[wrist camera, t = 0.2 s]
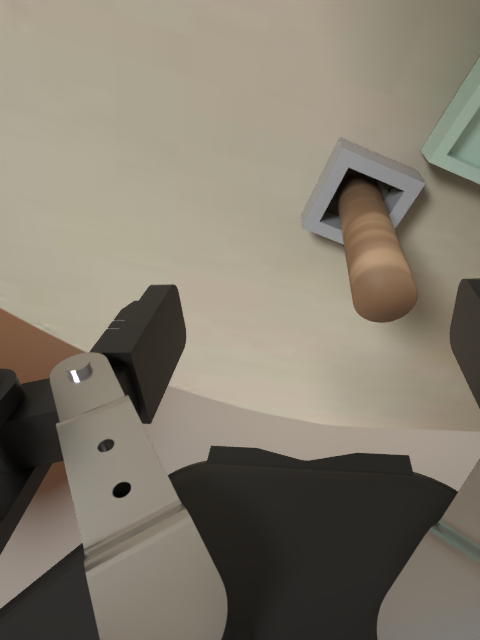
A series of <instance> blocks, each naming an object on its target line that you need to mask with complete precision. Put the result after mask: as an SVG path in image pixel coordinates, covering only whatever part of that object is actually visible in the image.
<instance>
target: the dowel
mask: <svg viewBox="0 0 480 640" xmlns="http://www.w3.org/2000/svg"><path fill="white" fill-rule="evenodd" d="M336 200H337V206H338V212H339V219H340V225H341V231H342V237H343V243H344V250H345V256H346V262H347V268H348V274H349V280H350V287H351V293H352V299H353V305H354V308H355V310H356V311H357V313H358V314H359V315H360V316H362V317H363V318H365V319H367V320H369V321H373V322H390V321H394V320H397V319H399V318H401V317H403V316H404V315H406V314H407V313H408V312H409V311H410V310H411V309H412V308H413V307H414V305H415V303H416V301H417V296H418V292H417V288H416V285H415V283H414V280H413V277H412V275H411V272H410V269H409V267H408V264H407V261H406V259H405V256H404V253H403V251H402V248H401V246H400V243H399V240H398V238H397V235H396V232H395V230H394V227H393V224H392V222H391V219H390V216H389V214H388V211H387V208H386V206H385V203H384V201H383V198H382V195H381V193H380V190H379V187H378V185H377V182H376V181H375V179H374V178H372V177H370V176H368V175H365V174H363V173H355V174H352V175H349V176H348V177H346V178H345V179H343V180H342V182H341V183H340V184H339V186H338V188H337V191H336Z"/></svg>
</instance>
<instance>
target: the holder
mask: <svg viewBox="0 0 480 640" xmlns="http://www.w3.org/2000/svg"><path fill="white" fill-rule="evenodd" d="M348 167H349V168H351V169H353V170H356V171H358V172H361V173H363V174H365V175H368V176H370V177H372V178H375V179H377V180H380V181H382V182H384V183H387V184H389V185H391V186H393V188H392V189H391V191H390V192H389V194H388V196H387V197H386V199H385V200H384V203H385V206H386V208H387V211H388V214H389V216H390V219H391V222H392V224H393V227H394V230H395V228H396V227H397V225H398V224H399V222H400V221H401V219H402V218H403V216H404V215H405V214H406V212H407V211H408V209H409V208H410V206H411V205H412V203H413V202H414V200H415V199H416V197H417V196H418V194H419V193H420V191H421V190H422V188H423V187H424V185H425V184H426V183H425V182H424V180H423V178H422V177H421V175H420V173H419V172H418V171H417V170H414V169H412V168H410V167H407V166H405V165H403V164H401V163H398V162H396V161H394V160H391V159H389V158H387V157H384V156H382V155H380V154H377V153H375V152H373V151H370V150H368V149H366V148H363V147H361V146H359V145H357V144H354V143H352V142H350V141H347V140H345V139H343V138H339V140H338V142H337V144H336V146H335V148H334V150H333V152H332V154H331V156H330V158H329V160H328V162H327V164H326V166H325V168H324V170H323V172H322V174H321V176H320V178H319V180H318V182H317V184H316V187H315V189H314V191H313V193H312V195H311V197H310V199H309V201H308V203H307V205H306V207H305V209H304V211H303V213H302V228H303V229H305V230H308V231H310V232H313V233H316V234H318V235H321V236H323V237H326V238H328V239H331V240H333V241H336V242H338V243H341V244H343V245H344V243H343V237H342V231H341V225H340V219H339V216H337V215H335V214H332V213H330V212H327V211H325V210H326V209H327V207H328V205H329V203H330V201H331V199H332V197H333V196H334V194H335V192H336V190H337V188H338V186H339V184H340V182H341V181H342V179H343V177H344V175H345V173H346V171H347V169H348Z"/></svg>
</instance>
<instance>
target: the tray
mask: <svg viewBox="0 0 480 640" xmlns="http://www.w3.org/2000/svg"><path fill="white" fill-rule="evenodd" d="M420 151H421V152H422V154H423V155H424V156H425V158H426V159H427V161H428V162H430V163H432V164H434V165H436V166H439V167H441V168H443V169H446V170H448V171H450V172H452V173H455V174H457V175H459V176H462V177H464V178H466V179H469V180H471V181H473V182H475V183H478V184H480V57H479V58H478V60H477V62H476V63H475V65H474V66H473V68H472V70H471V71H470V73H469V74H468V76H467V77H466V79H465V81H464V82H463V84H462V85H461V87H460V89H459V90H458V92H457V93H456V95H455V96H454V98H453V100H452V101H451V103H450V104H449V106H448V108H447V109H446V111H445V112H444V114H443V115H442V117H441V119H440V120H439V122H438V123H437V125H436V126H435V128H434V130H433V131H432V133H431V134H430V136H429V138H428V139H427V141H426V142H425V144H424V145H423V147H422V149H421V150H420Z"/></svg>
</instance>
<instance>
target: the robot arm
mask: <svg viewBox="0 0 480 640" xmlns="http://www.w3.org/2000/svg"><path fill="white" fill-rule="evenodd" d="M185 343H186V328H185V322H184V317H183V312H182V307H181V302H180V297H179V292H178V289H177V287H176V285H150V286H149V287H148V288H147V290H146V291H145V293H144V294H143V295H142V297H141V298H140V300H139V301H133V302H132V303H130V304H129V305H127V306H126V307H125V308H123V309H122V310H121V311H120V312H119V313H118V315H117V316H116V317H115V319H114V321H112V323H111V324H110V325H109V327H108V329H106V331H105V332H104V333H103V335H102V336H101V337H100V339H99V340H98V341H97V343H96V344H95V345H94V347H93V348H92V349H91V351H90V352H89V353H82V354H78V355H75V356H72V357H69V358H68V359H66V360H64V361H62V362H61V363H59V364H58V365H57V366H56V367H55V368H54V369H53V370H52V372H51V374H50V377H49V379H43V380H39V381H33V382H28V383H24V384H20V382H19V380H18V378H17V375H16V374H15V372H14V371H12V370H10V369H0V554H1V553H2V551H3V549H4V547H5V546H6V544H7V542H8V540H9V539H10V537H11V535H12V533H13V531H14V530H15V528H16V526H17V525H18V523H19V521H20V519H21V518H22V516H23V514H24V512H25V510H26V509H27V507H28V505H29V504H30V502H31V500H32V498H33V497H34V495H35V493H36V491H37V490H38V488H39V486H40V484H41V482H42V481H43V479H44V477H45V475H46V474H47V472H48V470H49V468H50V467H51V465H52V463H55V462H60V461H64V463H65V468H66V472H67V477H68V481H69V485H70V489H71V494H72V499H73V503H74V507H75V512H76V516H77V521H78V525H79V529H80V534H81V538H82V542H83V543H82V544H80V545H79V546H78V547H77V548H75V549H74V550H73V551H72V552H70V553H69V554H68V555H67V556H65V557H64V558H63V559H62V560H60V561H59V562H58V563H57V564H56V565H54V566H53V567H52V568H51V569H49V570H48V571H47V572H46V573H44V574H43V575H42V576H41V577H39V578H38V579H37V580H36V581H34V582H33V583H32V584H31V585H29V587H27V588H26V589H25V590H23V591H22V592H21V593H20V594H18V595H17V596H16V597H15V598H13V599H12V600H11V601H10V602H8V603H7V604H6V605H5V606H3V607H2V608H1V609H0V640H480V459H479V461H478V462H477V464H476V465H475V467H474V468H473V470H472V472H471V473H470V475H469V476H468V478H467V479H466V481H465V482H464V484H463V485H462V487H461V489H460V490H459V492H458V491H456V490H454V489H453V488H451V487H449V486H447V485H446V484H444V483H441V482H439V481H437V480H435V479H432V478H430V477H427V476H425V475H422V474H419V473H415V472H413V471H412V467H411V463H410V458H409V456H408V455H389V454H367V453H354V454H348V455H342V456H335V457H329V458H324V459H317V460H311V461H304V460H299V459H296V458H292V457H288V456H284V455H281V454H277V453H273V452H269V451H266V450H262V449H258V448H245V447H244V448H243V447H223V446H211V448H210V452H209V456H208V460H207V461H203V462H198V463H195V464H192V465H189V466H186V467H183V468H181V469H179V470H177V471H175V472H173V473H171V474H169V475H167V473H166V471H165V469H164V467H163V465H162V463H161V461H160V459H159V457H158V455H157V453H156V451H155V449H154V447H153V445H152V443H151V441H150V439H149V436H148V434H147V433H146V430H145V428H144V426H143V424H142V423H144V424H151V422H152V420H153V418H154V415H155V413H156V411H157V409H158V406H159V404H160V402H161V399H162V397H163V395H164V393H165V391H166V388H167V386H168V384H169V381H170V379H171V377H172V375H173V372H174V370H175V368H176V366H177V363H178V361H179V359H180V357H181V354H182V352H183V350H184V347H185ZM450 344H451V348H452V351H453V353H454V355H455V358H456V360H457V362H458V364H459V366H460V368H461V370H462V372H463V374H464V377H465V379H466V381H467V383H468V385H469V387H470V389H471V391H472V394H473V396H474V398H475V400H476V402H477V404H478V406H479V408H480V279H462V280H461V282H460V284H459V287H458V291H457V296H456V302H455V307H454V312H453V317H452V322H451V327H450Z"/></svg>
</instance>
